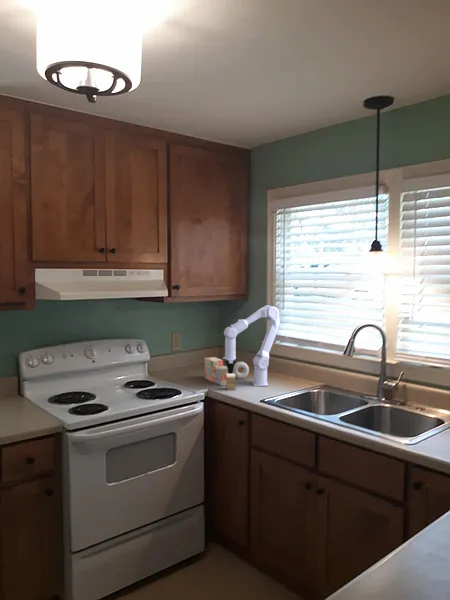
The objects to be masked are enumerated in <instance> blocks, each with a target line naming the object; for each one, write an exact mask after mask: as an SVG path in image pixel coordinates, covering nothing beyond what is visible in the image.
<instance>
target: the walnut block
mask: <svg viewBox="0 0 450 600" xmlns="http://www.w3.org/2000/svg"><path fill="white" fill-rule="evenodd" d="M225 386H226V388H227V389H226V391H236V377H235V374H233V373H232V374H226V385H225Z"/></svg>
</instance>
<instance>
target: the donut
mask: <svg viewBox="0 0 450 600" xmlns="http://www.w3.org/2000/svg"><path fill="white" fill-rule="evenodd" d="M239 369H242V372H239ZM249 371H250V367H249V365H248V364H247V363H246V362H245V361H236V363H235V365H234V368H233V373H232V374H235V379H236V378H237V379H240V380H241V379H244V378H246V377H247V376H249V375H248V374H249Z"/></svg>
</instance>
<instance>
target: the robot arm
mask: <svg viewBox="0 0 450 600" xmlns="http://www.w3.org/2000/svg"><path fill="white" fill-rule="evenodd" d="M261 318H266V319H267V321H268V323H269V325H268V328H267V330H266V334H265V336H264V339H263V341H262V343H261V346H260V349H259V351H257V352H256V355H255V356H254V357H253V358H252V364H253V365H254V366H253V380H252V385H253V387H269V384H268V367H269V364H270V363H269V362H270V361H269V360H270V351H271V349H272V347H273V343H274V341H275V340H276V336H277V333H278V331H279V328H280V325H281V320H280V311H279V309H278V308H277V307H276V306H272V305H264V306H263V307H261V308H259V309H257V310H256V311H255V312H253V313H252V314H251V315H250V316H248V317H246V318H245V319H243V318H241V319H240V318H239V319H237V321H236V322H235V323H233V324H230V326H227V327H226V328H225V329H224V331H223V335H224V336H225V337H224V338H225V339H224V356H223V357H222V360H225V361H224V363H225V365H226V367H227V369H228V374H233V368H234V365H235V364H236V363H237V361H236V359H237V356H236V353H237V351H236V345H237V344H236V343H237V341H236V340H237V339H236V338H237V336H238V335H239V334H240V333H242V332H243V331H245V330H247V329H248V327H249V325H250V324H252V323H254V322H255V321H257V320H259V319H261Z"/></svg>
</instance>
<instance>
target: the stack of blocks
mask: <svg viewBox="0 0 450 600" xmlns="http://www.w3.org/2000/svg"><path fill="white" fill-rule="evenodd" d="M226 374H228V369H227V365H226V366H225V365H224V359H221V358H218V357H215V356H212V357H204V379H206V380H207V381H210V382H213V383H214V382H215V383H214V384H216V383H217V385H218V384H219V386H220V385H223V386H226Z"/></svg>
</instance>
